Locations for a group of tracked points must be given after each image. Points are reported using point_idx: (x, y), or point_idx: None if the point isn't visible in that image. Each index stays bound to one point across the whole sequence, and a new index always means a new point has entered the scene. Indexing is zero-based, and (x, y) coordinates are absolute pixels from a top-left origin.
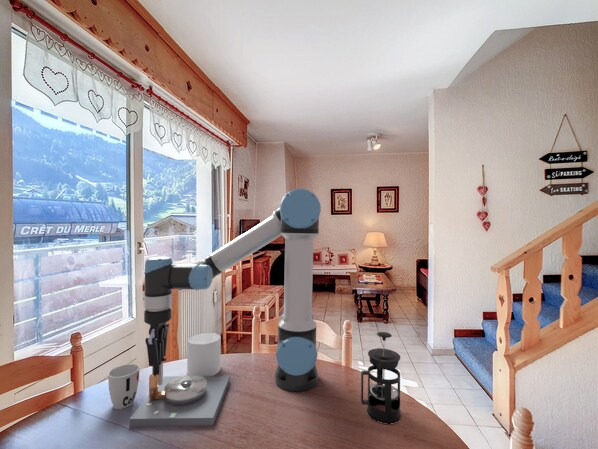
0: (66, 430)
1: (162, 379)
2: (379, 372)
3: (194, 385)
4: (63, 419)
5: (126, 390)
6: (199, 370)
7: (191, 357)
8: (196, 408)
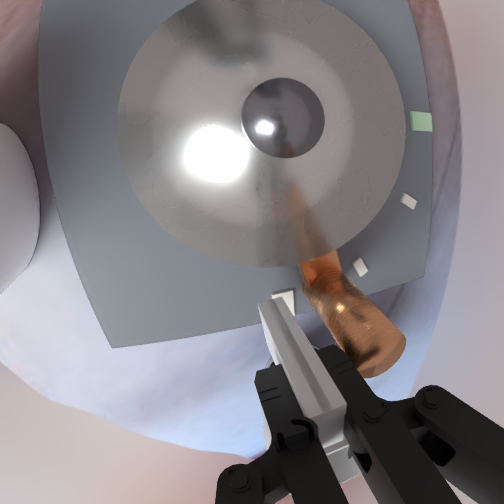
0: (389, 384)
1: (270, 317)
2: None
3: (283, 53)
4: None
5: None
6: (11, 187)
7: None
8: (370, 33)
